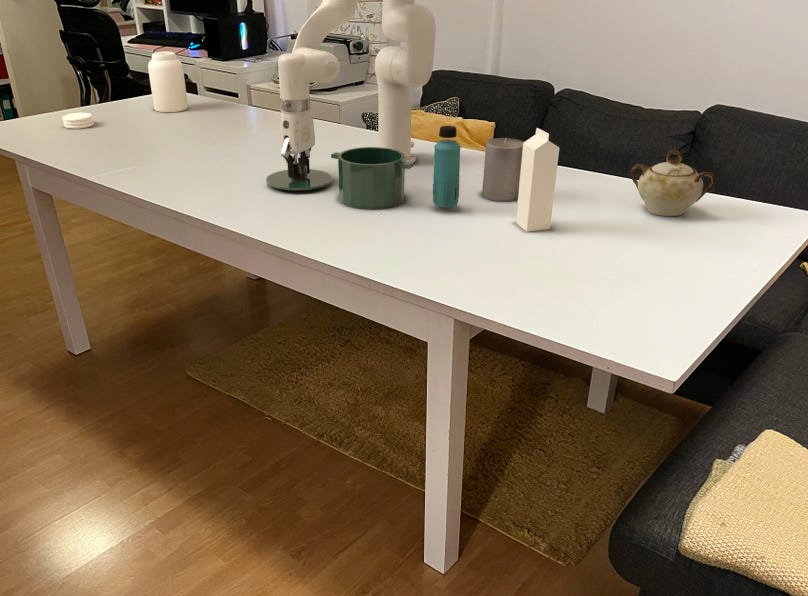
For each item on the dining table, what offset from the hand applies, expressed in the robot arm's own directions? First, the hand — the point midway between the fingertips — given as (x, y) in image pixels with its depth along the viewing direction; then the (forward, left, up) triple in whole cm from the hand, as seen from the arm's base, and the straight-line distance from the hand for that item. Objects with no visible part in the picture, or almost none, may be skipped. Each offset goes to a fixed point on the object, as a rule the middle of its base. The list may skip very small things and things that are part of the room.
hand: (299, 174), depth 201 cm
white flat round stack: (-22, -104, -3) cm, 106 cm away
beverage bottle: (+1, +43, -3) cm, 43 cm away
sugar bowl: (-22, +92, -3) cm, 95 cm away
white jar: (-57, -93, -3) cm, 109 cm away
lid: (0, 0, -2) cm, 2 cm away
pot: (+2, +23, -3) cm, 23 cm away
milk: (+3, +66, -3) cm, 66 cm away
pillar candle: (-15, +52, -3) cm, 54 cm away
